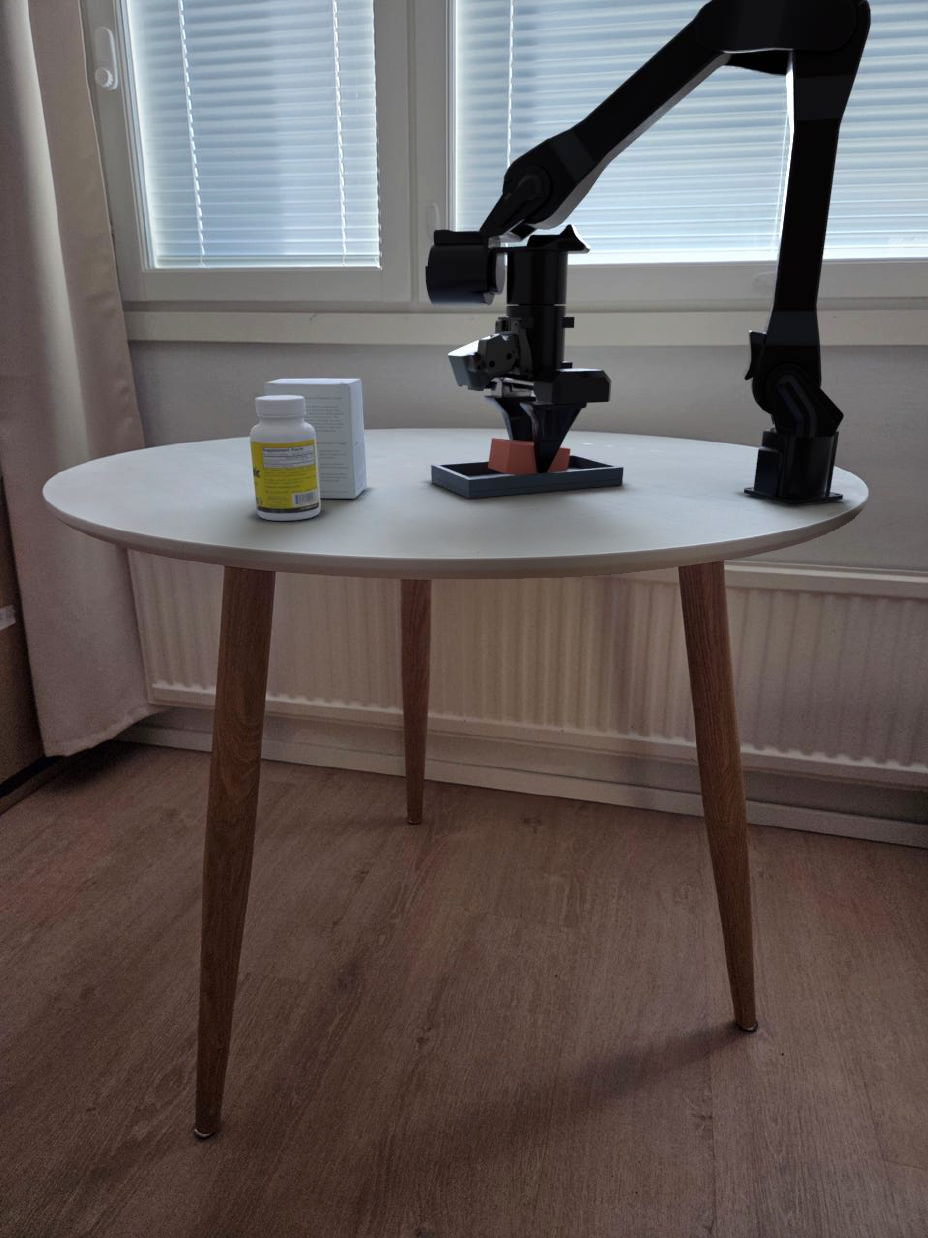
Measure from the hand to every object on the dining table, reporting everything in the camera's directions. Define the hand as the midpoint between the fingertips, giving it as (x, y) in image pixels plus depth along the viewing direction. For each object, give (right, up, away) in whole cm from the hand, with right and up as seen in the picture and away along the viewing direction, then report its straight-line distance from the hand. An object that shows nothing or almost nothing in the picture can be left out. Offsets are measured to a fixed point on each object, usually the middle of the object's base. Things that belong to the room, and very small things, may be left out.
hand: (531, 469), depth 86 cm
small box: (-21, -3, -5) cm, 21 cm away
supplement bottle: (-22, -7, -13) cm, 26 cm away
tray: (0, -1, 0) cm, 1 cm away
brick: (0, 0, 0) cm, 1 cm away
